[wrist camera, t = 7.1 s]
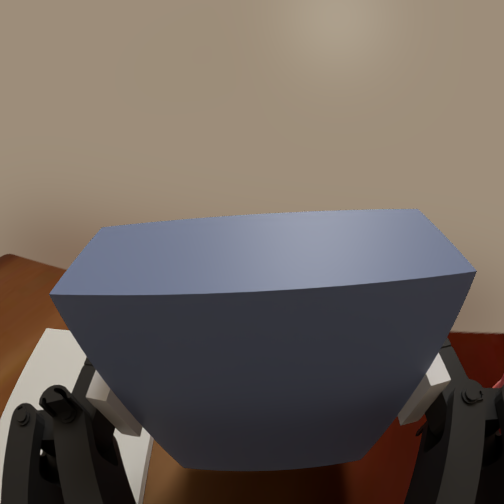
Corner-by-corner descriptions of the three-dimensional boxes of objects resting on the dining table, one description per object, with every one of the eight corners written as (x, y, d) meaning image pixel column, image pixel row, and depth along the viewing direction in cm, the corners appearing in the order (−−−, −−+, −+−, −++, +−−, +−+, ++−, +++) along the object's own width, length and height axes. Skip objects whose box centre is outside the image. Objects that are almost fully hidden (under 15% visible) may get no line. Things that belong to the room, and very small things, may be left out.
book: (360, 459, 11) (476, 271, 5) (183, 467, 11) (49, 294, 5) (351, 412, 14) (417, 208, 7) (189, 420, 14) (102, 226, 8)
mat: (132, 599, 4) (128, 600, 4) (-22, 511, 5) (-28, 508, 5) (175, 340, 22) (173, 335, 22) (49, 332, 23) (46, 328, 22)
